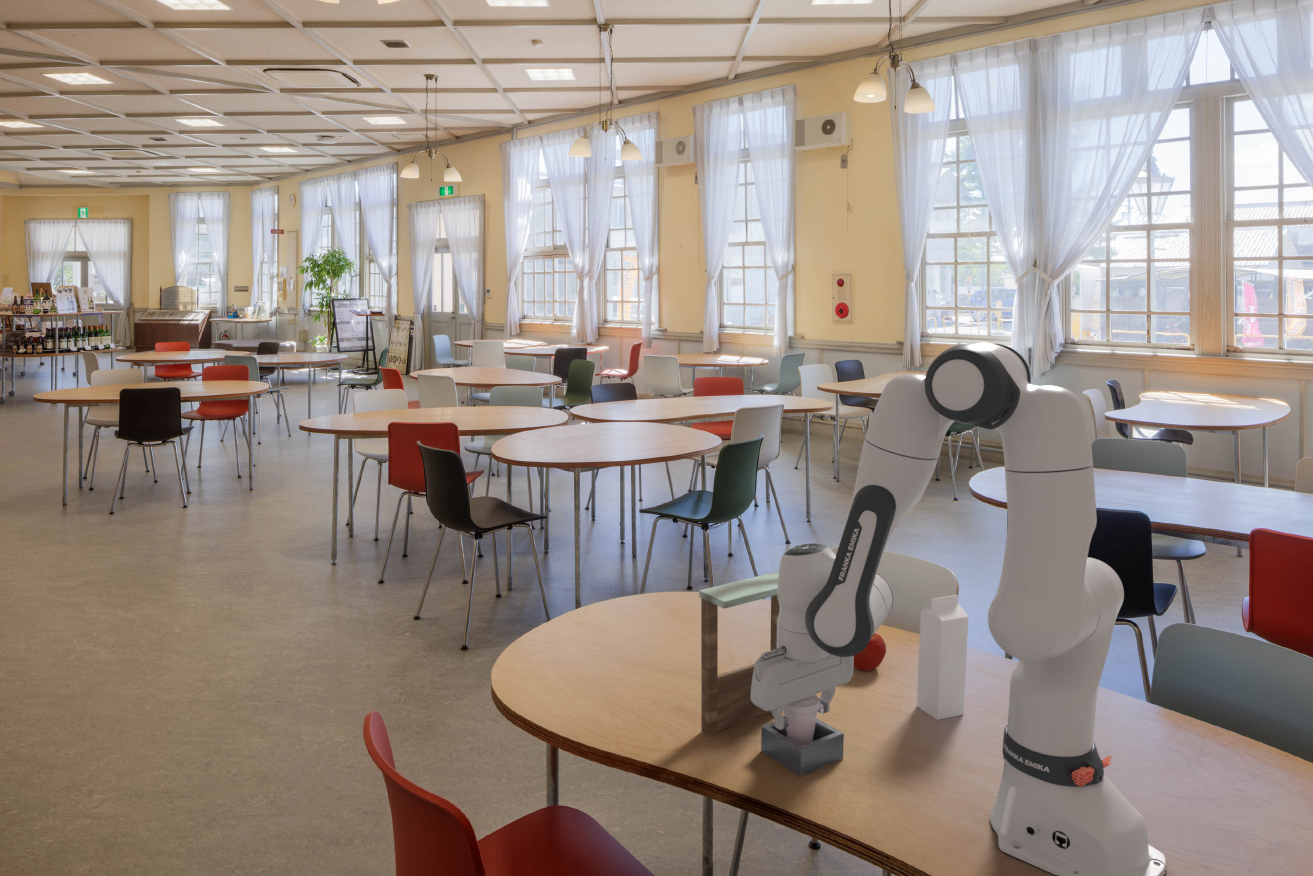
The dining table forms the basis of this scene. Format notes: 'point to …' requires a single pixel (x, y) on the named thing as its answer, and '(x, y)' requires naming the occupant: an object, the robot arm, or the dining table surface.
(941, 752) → the dining table surface
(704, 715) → the green-topped frame
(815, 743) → the socket
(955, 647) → the milk
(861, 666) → the apple
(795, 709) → the smoothie
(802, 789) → the dining table surface
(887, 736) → the dining table surface
